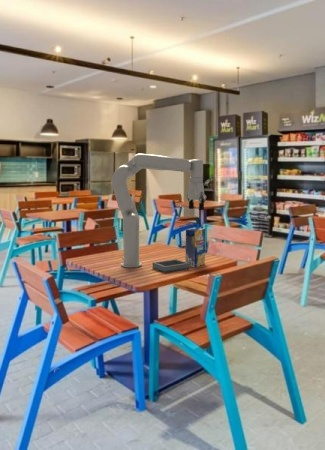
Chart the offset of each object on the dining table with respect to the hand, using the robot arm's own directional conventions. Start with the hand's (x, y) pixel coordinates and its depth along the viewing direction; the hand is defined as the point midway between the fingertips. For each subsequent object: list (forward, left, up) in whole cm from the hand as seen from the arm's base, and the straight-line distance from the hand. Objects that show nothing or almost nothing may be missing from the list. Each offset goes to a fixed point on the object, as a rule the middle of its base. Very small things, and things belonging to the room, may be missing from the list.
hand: (196, 209), depth 252 cm
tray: (0, -18, -34) cm, 39 cm away
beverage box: (0, 0, -34) cm, 34 cm away
